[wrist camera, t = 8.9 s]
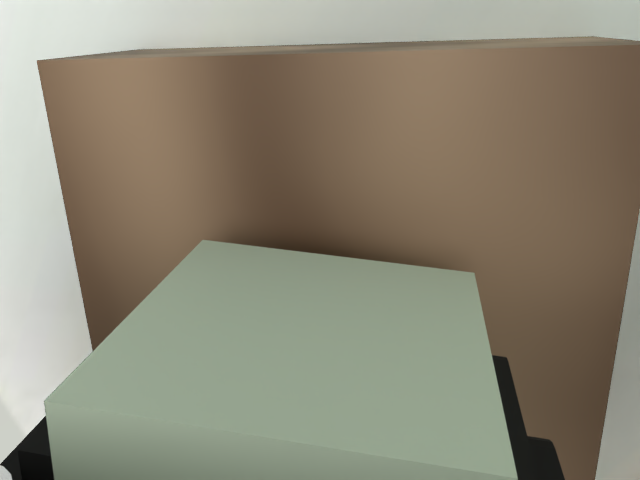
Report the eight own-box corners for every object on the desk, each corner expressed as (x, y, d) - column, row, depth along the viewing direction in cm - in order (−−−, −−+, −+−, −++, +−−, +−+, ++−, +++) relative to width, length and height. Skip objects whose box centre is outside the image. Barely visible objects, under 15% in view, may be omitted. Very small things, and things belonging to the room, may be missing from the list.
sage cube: (474, 272, 10) (517, 478, 6) (435, 491, 12) (445, 781, 8) (202, 240, 11) (44, 401, 6) (205, 452, 13) (82, 698, 8)
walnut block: (588, 36, 15) (667, 43, 10) (541, 427, 19) (581, 560, 14) (142, 48, 17) (37, 60, 12) (189, 402, 21) (123, 512, 16)
